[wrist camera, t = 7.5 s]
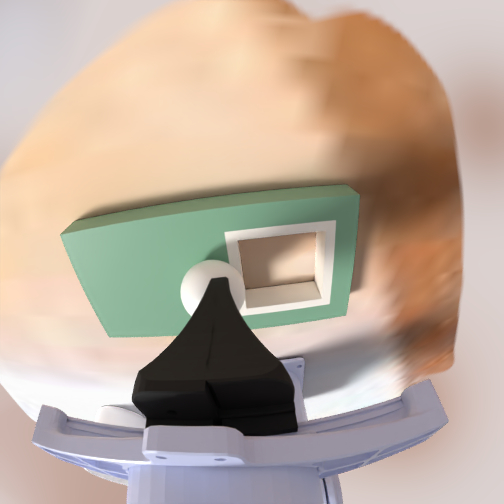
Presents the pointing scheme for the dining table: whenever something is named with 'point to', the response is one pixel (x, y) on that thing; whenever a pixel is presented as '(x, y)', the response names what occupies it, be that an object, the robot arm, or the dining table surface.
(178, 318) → the green
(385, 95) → the dining table surface
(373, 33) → the dining table surface
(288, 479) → the robot arm
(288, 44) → the dining table surface
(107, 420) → the cup
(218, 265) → the ball
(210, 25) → the dining table surface
